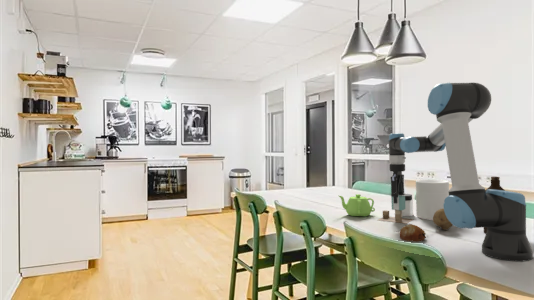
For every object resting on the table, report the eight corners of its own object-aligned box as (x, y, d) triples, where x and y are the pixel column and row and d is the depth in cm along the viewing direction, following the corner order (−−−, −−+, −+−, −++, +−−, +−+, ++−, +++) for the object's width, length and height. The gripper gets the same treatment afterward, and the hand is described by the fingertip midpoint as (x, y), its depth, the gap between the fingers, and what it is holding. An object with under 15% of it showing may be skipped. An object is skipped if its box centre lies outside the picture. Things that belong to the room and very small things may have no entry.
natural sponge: (441, 233, 155) (441, 211, 155) (428, 228, 164) (428, 207, 164) (459, 231, 157) (458, 209, 157) (445, 226, 166) (445, 206, 166)
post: (400, 221, 176) (400, 207, 176) (395, 220, 177) (394, 207, 177) (402, 220, 178) (401, 206, 178) (396, 219, 179) (396, 206, 179)
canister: (434, 214, 194) (433, 178, 193) (457, 220, 178) (456, 181, 178) (410, 216, 190) (409, 180, 189) (430, 223, 174) (430, 183, 174)
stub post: (387, 218, 184) (387, 211, 184) (382, 217, 185) (382, 211, 185) (389, 217, 186) (389, 210, 186) (384, 216, 187) (384, 210, 187)
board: (406, 225, 170) (406, 223, 170) (376, 222, 180) (376, 220, 180) (413, 221, 179) (413, 219, 179) (385, 217, 189) (385, 216, 189)
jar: (393, 215, 194) (392, 194, 194) (405, 214, 197) (404, 193, 196) (403, 218, 186) (403, 196, 185) (416, 217, 188) (415, 195, 188)
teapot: (355, 221, 184) (355, 197, 183) (338, 216, 196) (337, 194, 196) (377, 217, 191) (377, 194, 191) (359, 213, 204) (358, 191, 203)
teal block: (402, 210, 174) (401, 197, 174) (391, 209, 177) (391, 196, 177) (405, 208, 178) (405, 195, 178) (395, 207, 181) (394, 195, 181)
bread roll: (408, 243, 154) (400, 226, 156) (430, 236, 148) (422, 218, 150) (401, 248, 147) (392, 230, 149) (424, 241, 141) (415, 223, 143)
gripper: (398, 164, 167) (399, 212, 168) (410, 162, 182) (411, 206, 182) (383, 164, 172) (384, 210, 173) (395, 162, 186) (396, 205, 187)
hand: (398, 208), depth 177 cm, fingers closed on teal block, 5 cm apart
